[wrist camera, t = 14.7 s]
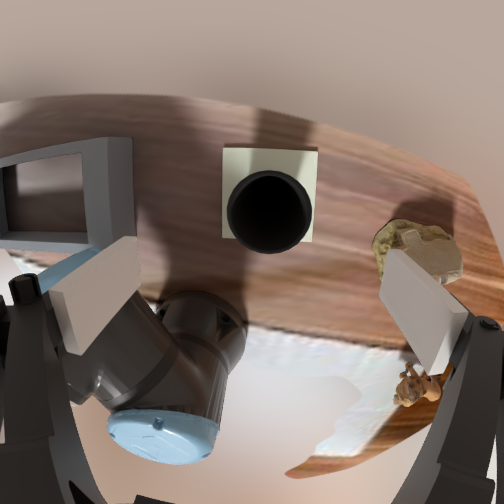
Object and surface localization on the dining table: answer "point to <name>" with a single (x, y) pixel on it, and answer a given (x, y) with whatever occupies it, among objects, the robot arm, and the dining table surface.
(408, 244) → the ceramic model
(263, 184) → the cup
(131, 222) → the slot box
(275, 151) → the mat
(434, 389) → the lion figurine
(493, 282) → the dining table surface
